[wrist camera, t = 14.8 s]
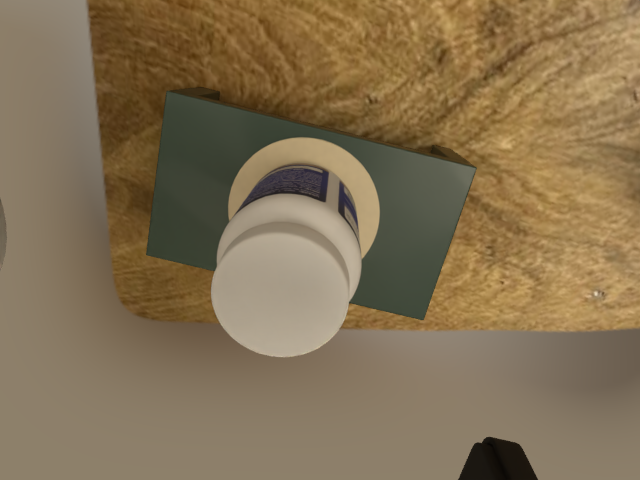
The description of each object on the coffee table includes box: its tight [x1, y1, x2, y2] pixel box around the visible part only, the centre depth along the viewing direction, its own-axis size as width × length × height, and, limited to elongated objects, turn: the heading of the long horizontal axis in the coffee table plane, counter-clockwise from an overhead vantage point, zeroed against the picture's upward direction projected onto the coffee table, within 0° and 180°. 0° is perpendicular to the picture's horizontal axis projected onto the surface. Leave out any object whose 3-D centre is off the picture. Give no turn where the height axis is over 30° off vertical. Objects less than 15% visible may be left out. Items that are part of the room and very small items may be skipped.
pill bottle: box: [211, 162, 362, 357], centre depth 21 cm, size 6×6×10 cm
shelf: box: [146, 87, 477, 320], centre depth 28 cm, size 16×9×6 cm, turn 77°
